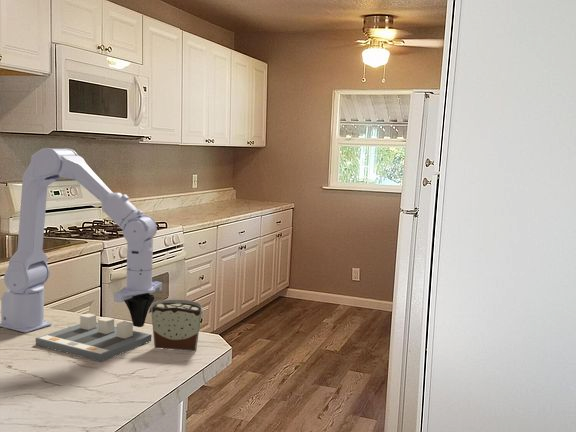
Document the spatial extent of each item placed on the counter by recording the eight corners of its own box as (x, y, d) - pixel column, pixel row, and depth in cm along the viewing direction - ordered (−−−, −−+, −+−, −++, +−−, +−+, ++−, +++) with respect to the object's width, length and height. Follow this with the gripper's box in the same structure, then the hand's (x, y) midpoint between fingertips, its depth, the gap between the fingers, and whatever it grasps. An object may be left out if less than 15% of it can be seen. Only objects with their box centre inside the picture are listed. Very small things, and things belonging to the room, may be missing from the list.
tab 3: (116, 336, 133) (116, 323, 133) (124, 333, 136) (124, 321, 135) (125, 338, 132) (125, 325, 132) (132, 335, 134) (132, 322, 134)
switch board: (35, 344, 130) (35, 337, 130) (89, 326, 145) (89, 320, 144) (101, 361, 122) (101, 354, 122) (151, 340, 136) (151, 334, 136)
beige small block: (80, 328, 138) (80, 315, 138) (88, 325, 140) (88, 313, 140) (88, 330, 137) (88, 317, 137) (96, 327, 139) (96, 314, 139)
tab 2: (98, 332, 136) (98, 319, 135) (105, 329, 138) (105, 317, 138) (106, 334, 135) (106, 321, 134) (114, 331, 137) (114, 318, 137)
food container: (208, 343, 137) (210, 301, 136) (202, 352, 131) (203, 307, 129) (156, 339, 138) (157, 297, 137) (147, 347, 132) (148, 304, 131)
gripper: (132, 276, 128) (130, 337, 130) (173, 265, 141) (171, 321, 143) (107, 272, 131) (106, 331, 133) (149, 262, 144) (148, 316, 146)
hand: (138, 325), depth 138 cm, fingers closed
